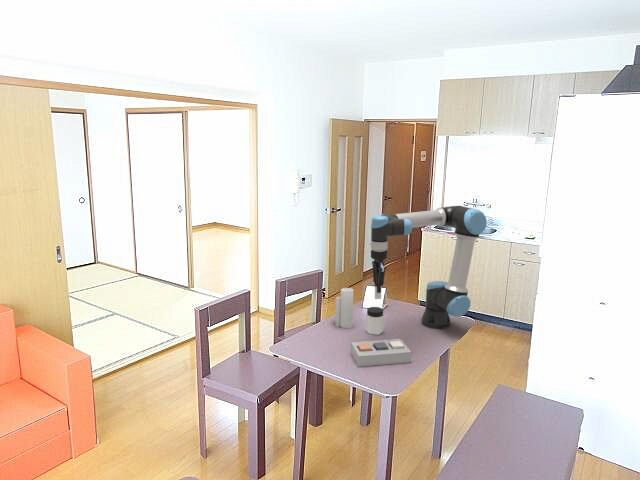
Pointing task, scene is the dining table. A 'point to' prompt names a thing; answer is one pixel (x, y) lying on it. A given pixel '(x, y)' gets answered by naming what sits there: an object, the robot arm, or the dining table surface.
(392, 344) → the ivory key
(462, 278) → the robot arm
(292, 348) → the dining table surface
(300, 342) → the dining table surface
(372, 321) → the jar
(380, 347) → the charcoal key
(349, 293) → the grey stepped double column
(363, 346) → the terracotta key
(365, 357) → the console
